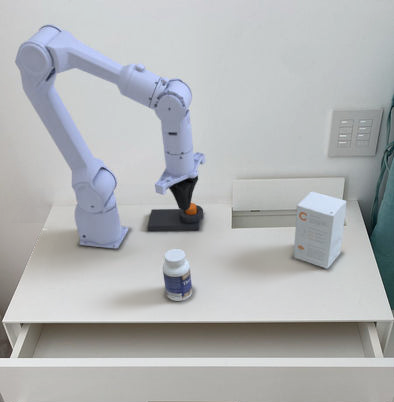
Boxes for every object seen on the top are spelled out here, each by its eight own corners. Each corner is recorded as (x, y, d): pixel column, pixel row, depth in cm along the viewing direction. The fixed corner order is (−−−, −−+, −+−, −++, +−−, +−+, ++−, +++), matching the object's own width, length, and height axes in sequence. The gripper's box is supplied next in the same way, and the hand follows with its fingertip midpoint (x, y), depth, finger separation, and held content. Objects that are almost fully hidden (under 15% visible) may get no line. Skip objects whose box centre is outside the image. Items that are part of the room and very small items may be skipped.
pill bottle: (189, 303, 115) (185, 264, 108) (163, 300, 116) (157, 262, 109) (194, 285, 119) (191, 247, 112) (169, 283, 120) (164, 245, 113)
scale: (148, 231, 134) (146, 220, 131) (152, 214, 138) (150, 203, 136) (202, 230, 132) (201, 219, 130) (204, 213, 137) (203, 202, 135)
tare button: (185, 215, 132) (184, 209, 131) (186, 209, 134) (185, 202, 133) (196, 215, 132) (195, 208, 131) (197, 209, 134) (196, 202, 132)
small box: (340, 253, 123) (348, 200, 113) (327, 269, 119) (333, 216, 110) (306, 242, 126) (311, 190, 117) (292, 257, 123) (296, 205, 113)
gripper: (172, 169, 107) (179, 230, 117) (215, 136, 114) (218, 196, 124) (143, 160, 110) (152, 220, 120) (187, 129, 118) (192, 188, 127)
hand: (184, 208), depth 122 cm, fingers closed
